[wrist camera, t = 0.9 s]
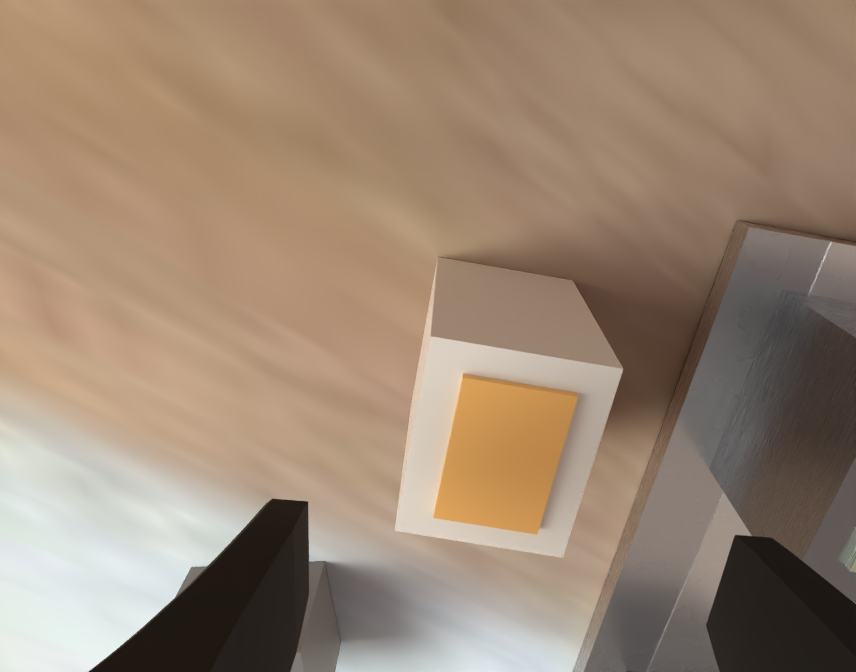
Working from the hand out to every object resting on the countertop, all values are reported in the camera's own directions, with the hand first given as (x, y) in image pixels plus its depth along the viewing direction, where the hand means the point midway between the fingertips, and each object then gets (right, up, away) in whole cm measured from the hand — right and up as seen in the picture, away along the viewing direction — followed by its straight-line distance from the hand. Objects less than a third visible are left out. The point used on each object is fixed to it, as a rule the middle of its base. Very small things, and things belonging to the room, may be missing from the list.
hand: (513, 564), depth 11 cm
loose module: (0, +4, +9) cm, 9 cm away
